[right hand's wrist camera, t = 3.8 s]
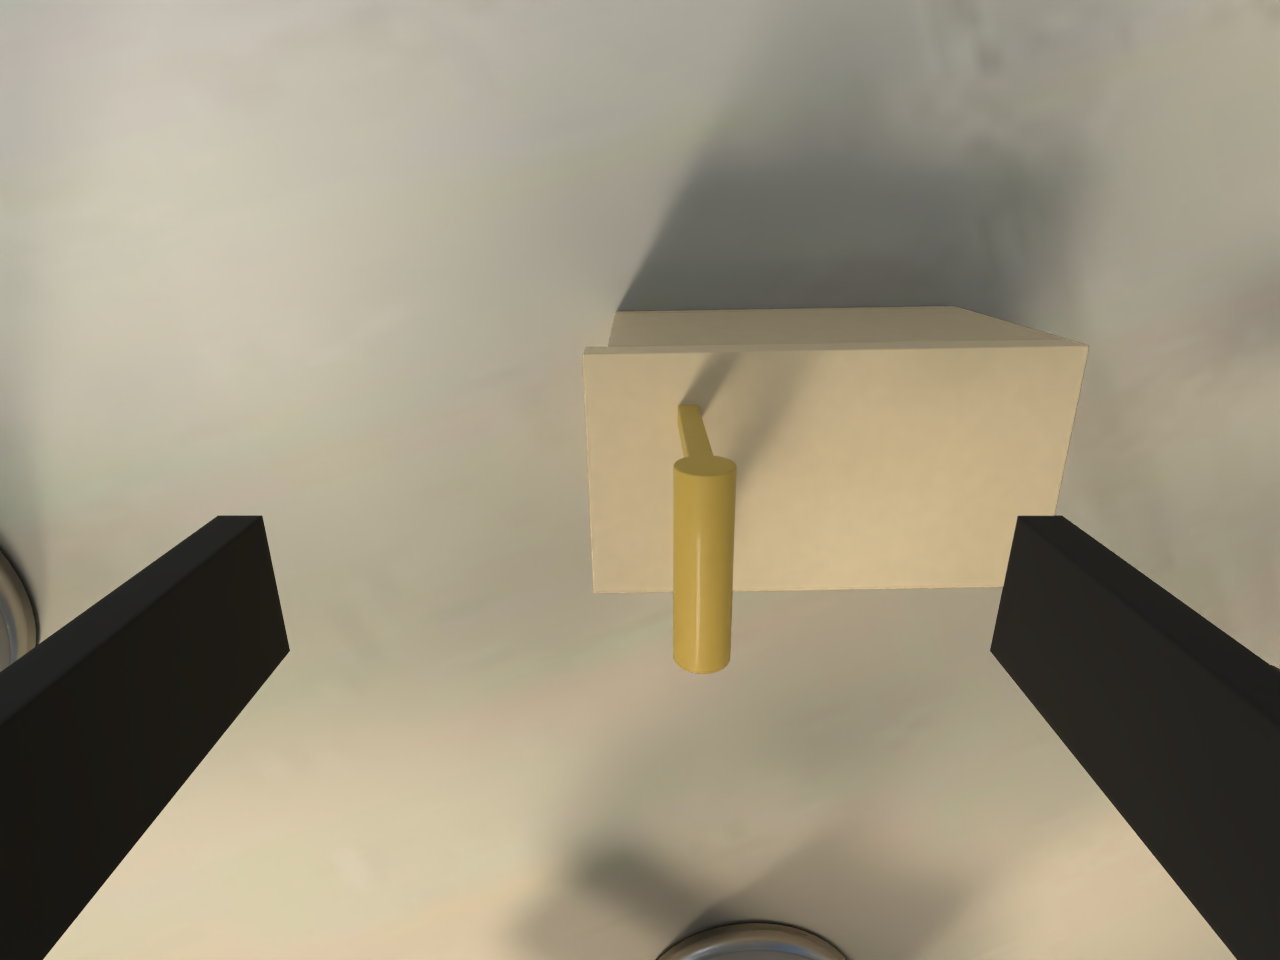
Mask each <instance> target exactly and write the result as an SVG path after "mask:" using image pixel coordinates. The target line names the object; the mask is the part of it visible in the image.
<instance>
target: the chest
mask: <svg viewBox="0 0 1280 960" xmlns="http://www.w3.org/2000/svg"><path fill="white" fill-rule="evenodd" d="M1056 339H1065V338H1062V337H1058V336H1055V335H1051V334H1048V333H1045V332H1041V331H1038V330H1034V329H1031V328H1028V327H1024V326H1021V325H1017V324H1014V323H1011V322H1007V321H1004V320H1000V319H997V318H994V317H990V316H987V315H983V314H980V313H977V312H973V311H970V310H966V309H963V308H959V307H956V306H917V307H857V308H797V309H737V310H677V311H617V312H616V313H615V317H614V321H613V326H612V330H611V334H610V339H609V343H608V347H632V346H693V345H753V344H814V343H874V342H935V341H995V340H1056Z"/></svg>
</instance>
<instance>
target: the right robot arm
mask: <svg viewBox="0 0 1280 960" xmlns="http://www.w3.org/2000/svg"><path fill="white" fill-rule="evenodd" d="M35 645H36V627H35V619H34V615H33V610H32V606H31V604H30V601H29V598H28V595H27V593H26V591H25V589H24V586H23V584H22V582H21V580H20V579H19V577H18V575H17V574H16V572H15V570H14V569H13V567H12V566H11V564H10V563H9V561H8V560H7V559H6V557H5V556H4V555H3V554H2V552H1V551H0V960H43V959H44V957H45V956H46V955H47V954H48V952H49V951H50V950H51V949H52V947H53V946H54V945H55V944H56V942H57V941H58V940H59V939H60V937H61V936H62V935H63V934H64V932H65V931H66V930H67V929H68V927H69V926H70V925H71V924H72V922H73V921H74V920H75V919H76V917H77V916H78V915H79V914H80V912H81V911H82V910H83V909H84V907H85V906H86V905H87V904H88V902H89V901H90V900H91V899H92V897H93V896H94V895H95V894H96V892H97V891H98V890H99V889H100V887H101V886H102V885H103V884H104V882H105V881H106V880H107V879H108V877H109V876H110V875H111V874H112V872H113V871H114V870H115V869H116V867H117V866H118V865H119V864H120V862H121V861H122V860H123V859H124V857H125V856H126V855H127V854H128V852H129V851H130V850H131V849H132V847H133V846H134V845H135V844H136V842H137V841H138V840H139V839H140V837H141V836H142V835H143V834H144V832H145V831H146V830H147V829H148V827H149V826H150V825H151V824H152V822H153V821H154V820H155V819H156V817H157V816H158V815H159V814H160V812H161V811H162V810H163V809H164V807H165V806H166V805H167V804H168V802H169V801H170V800H171V799H172V797H173V796H174V795H175V794H176V792H177V791H178V790H179V789H180V787H181V786H182V785H183V784H184V782H185V781H186V780H187V779H188V777H189V776H190V775H191V774H192V772H193V771H194V770H195V769H196V767H197V766H198V765H199V764H200V762H201V761H202V760H203V759H204V757H205V756H206V755H207V754H208V752H209V751H210V750H211V749H212V747H213V746H214V745H215V744H216V742H217V741H218V740H219V739H220V737H221V736H222V735H223V734H224V732H225V731H226V730H227V729H228V727H229V726H230V725H231V724H232V722H233V721H234V720H235V719H236V717H237V716H238V715H239V714H240V712H241V711H242V710H243V709H244V707H245V706H246V705H247V704H248V702H249V701H250V700H251V699H252V697H253V696H254V695H255V694H256V692H257V691H258V690H259V689H260V687H261V686H262V685H263V684H264V682H265V681H266V680H267V679H268V677H269V676H270V675H271V674H272V672H273V671H274V670H275V669H276V667H277V666H278V665H279V664H280V662H281V661H282V660H283V659H284V657H285V656H286V655H287V654H288V652H289V651H290V649H289V644H288V639H287V635H286V630H285V625H284V620H283V615H282V610H281V605H280V600H279V595H278V590H277V586H276V581H275V576H274V571H273V566H272V561H271V556H270V551H269V546H268V541H267V537H266V532H265V527H264V522H263V517H262V516H217V517H216V518H214V519H213V520H211V521H210V522H209V523H207V524H206V525H205V526H203V527H202V528H200V529H199V530H198V531H196V532H195V533H193V534H192V535H191V536H189V537H188V538H186V539H185V540H184V541H182V542H181V543H179V544H178V545H177V546H175V547H174V548H172V549H171V550H170V551H168V552H167V553H165V554H164V555H163V556H161V557H160V558H159V559H157V560H156V561H154V562H153V563H152V564H150V565H149V566H147V567H146V568H145V569H143V570H142V571H140V572H139V573H138V574H136V575H135V576H133V577H132V578H131V579H129V580H128V581H126V582H125V583H124V584H122V585H121V586H120V587H118V588H117V589H115V590H114V591H113V592H111V593H110V594H108V595H107V596H106V597H104V598H103V599H101V600H100V601H99V602H97V603H96V604H94V605H93V606H92V607H90V608H89V609H87V610H86V611H85V612H83V613H82V614H80V615H79V616H78V617H76V618H75V619H74V620H72V621H71V622H69V623H68V624H67V625H65V626H64V627H62V628H61V629H60V630H58V631H57V632H55V633H54V634H53V635H51V636H50V637H48V638H47V639H46V640H44V641H43V642H41V643H40V644H39V645H37V646H36V647H35ZM990 651H991V652H992V654H993V655H994V656H995V657H996V659H997V660H998V661H999V662H1000V664H1001V665H1002V666H1003V667H1004V669H1005V670H1006V671H1007V672H1008V674H1009V675H1010V676H1011V677H1012V679H1013V680H1014V681H1015V682H1016V684H1017V685H1018V686H1019V687H1020V689H1021V690H1022V691H1023V692H1024V694H1025V695H1026V696H1027V697H1028V699H1029V700H1030V701H1031V702H1032V704H1033V705H1034V706H1035V707H1036V709H1037V710H1038V711H1039V712H1040V714H1041V715H1042V716H1043V717H1044V719H1045V720H1046V721H1047V722H1048V724H1049V725H1050V726H1051V727H1052V729H1053V730H1054V731H1055V732H1056V734H1057V735H1058V736H1059V737H1060V739H1061V740H1062V741H1063V742H1064V744H1065V745H1066V746H1067V747H1068V749H1069V750H1070V751H1071V752H1072V754H1073V755H1074V756H1075V757H1076V759H1077V760H1078V761H1079V762H1080V764H1081V765H1082V766H1083V767H1084V769H1085V770H1086V771H1087V772H1088V774H1089V775H1090V776H1091V777H1092V779H1093V780H1094V781H1095V782H1096V784H1097V785H1098V786H1099V787H1100V789H1101V790H1102V791H1103V792H1104V794H1105V795H1106V796H1107V797H1108V799H1109V800H1110V801H1111V802H1112V804H1113V805H1114V806H1115V807H1116V809H1117V810H1118V811H1119V812H1120V814H1121V815H1122V816H1123V817H1124V819H1125V820H1126V821H1127V822H1128V824H1129V825H1130V826H1131V827H1132V829H1133V830H1134V831H1135V832H1136V834H1137V835H1138V836H1139V837H1140V839H1141V840H1142V841H1143V842H1144V844H1145V845H1146V846H1147V847H1148V849H1149V850H1150V851H1151V852H1152V854H1153V855H1154V856H1155V857H1156V859H1157V860H1158V861H1159V862H1160V864H1161V865H1162V866H1163V867H1164V869H1165V870H1166V871H1167V872H1168V874H1169V875H1170V876H1171V877H1172V879H1173V880H1174V881H1175V882H1176V884H1177V885H1178V886H1179V887H1180V889H1181V890H1182V891H1183V892H1184V894H1185V895H1186V896H1187V897H1188V899H1189V900H1190V901H1191V902H1192V904H1193V905H1194V906H1195V907H1196V909H1197V910H1198V911H1199V912H1200V914H1201V915H1202V916H1203V917H1204V919H1205V920H1206V921H1207V922H1208V924H1209V925H1210V926H1211V927H1212V929H1213V930H1214V931H1215V932H1216V934H1217V935H1218V936H1219V937H1220V939H1221V940H1222V941H1223V942H1224V944H1225V945H1226V946H1227V947H1228V949H1229V950H1230V951H1231V952H1232V954H1233V955H1234V956H1235V957H1236V959H1237V960H1280V669H1278V668H1276V667H1274V666H1272V665H1269V664H1268V663H1266V662H1265V661H1264V660H1262V659H1261V658H1259V657H1258V656H1257V655H1255V654H1254V653H1252V652H1251V651H1250V650H1248V649H1247V648H1246V647H1244V646H1243V645H1241V644H1240V643H1239V642H1237V641H1236V640H1234V639H1233V638H1232V637H1230V636H1229V635H1227V634H1226V633H1225V632H1223V631H1222V630H1220V629H1219V628H1218V627H1216V626H1215V625H1213V624H1212V623H1211V622H1209V621H1208V620H1206V619H1205V618H1204V617H1202V616H1201V615H1200V614H1198V613H1197V612H1195V611H1194V610H1193V609H1191V608H1190V607H1188V606H1187V605H1186V604H1184V603H1183V602H1181V601H1180V600H1179V599H1177V598H1176V597H1174V596H1173V595H1172V594H1170V593H1169V592H1167V591H1166V590H1165V589H1163V588H1162V587H1160V586H1159V585H1158V584H1156V583H1155V582H1154V581H1152V580H1151V579H1149V578H1148V577H1147V576H1145V575H1144V574H1142V573H1141V572H1140V571H1138V570H1137V569H1135V568H1134V567H1133V566H1131V565H1130V564H1128V563H1127V562H1126V561H1124V560H1123V559H1121V558H1120V557H1119V556H1117V555H1116V554H1115V553H1113V552H1112V551H1110V550H1109V549H1108V548H1106V547H1105V546H1103V545H1102V544H1101V543H1099V542H1098V541H1096V540H1095V539H1094V538H1092V537H1091V536H1089V535H1088V534H1087V533H1085V532H1084V531H1082V530H1081V529H1080V528H1078V527H1077V526H1075V525H1074V524H1073V523H1071V522H1070V521H1069V520H1067V519H1066V518H1064V517H1063V516H1018V517H1017V522H1016V527H1015V532H1014V537H1013V541H1012V546H1011V551H1010V556H1009V561H1008V566H1007V571H1006V576H1005V581H1004V586H1003V590H1002V595H1001V600H1000V605H999V610H998V615H997V620H996V625H995V630H994V635H993V639H992V644H991V649H990Z"/></svg>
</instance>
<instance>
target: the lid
mask: <svg viewBox="0 0 1280 960" xmlns="http://www.w3.org/2000/svg"><path fill="white" fill-rule="evenodd" d="M1088 351H1089V345H1086V344H1082V343H1079V342H1076V341H1072V340H1069V339H1056V340H995V341H935V342H874V343H814V344H753V345H693V346H632V347H586V348H585V350H584V353H583V373H584V395H585V418H586V440H587V463H588V485H589V507H590V530H591V552H592V575H593V592H594V593H652V592H673V657H674V660H675V662H676V663H677V665H678V666H680V667H681V668H683V669H684V670H687V671H689V672H693V673H699V674H707V673H713V672H717V671H719V670H721V669H723V668H724V667H726V666H727V664H728V663H729V661H730V650H731V620H732V591H783V590H848V589H913V588H978V587H1003V586H1004V581H1005V576H1006V571H1007V566H1008V561H1009V556H1010V551H1011V546H1012V541H1013V537H1014V532H1015V527H1016V522H1017V517H1018V516H1054V515H1055V511H1056V506H1057V501H1058V496H1059V491H1060V486H1061V482H1062V477H1063V472H1064V467H1065V462H1066V457H1067V452H1068V448H1069V443H1070V438H1071V433H1072V428H1073V423H1074V419H1075V414H1076V409H1077V404H1078V399H1079V394H1080V390H1081V385H1082V380H1083V375H1084V370H1085V365H1086V360H1087V356H1088Z"/></svg>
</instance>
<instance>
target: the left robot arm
mask: <svg viewBox="0 0 1280 960" xmlns="http://www.w3.org/2000/svg"><path fill="white" fill-rule="evenodd" d="M658 960H846V959H845V958H844V956H843V955H842V954H841V953H840V952H839V951H838V950H836V949H835V948H834V947H833V946H832V945H830V944H829V943H827V942H826V941H824V940H822V939H821V938H819V937H817V936H815V935H812V934H810V933H808V932H805V931H802V930H799V929H796V928H792V927H788V926H783V925H777V924H767V923H743V924H734V925H727V926H722V927H718V928H714V929H710V930H707V931H704V932H701V933H699V934H696V935H694V936H692V937H689V938H687V939H686V940H684V941H682V942H680V943H678V944H677V945H675V946H674V947H672V948H671V949H670V950H668V951H667V952H666V953H665V954H663V955H662V956H661V957H660V958H659V959H658Z"/></svg>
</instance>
